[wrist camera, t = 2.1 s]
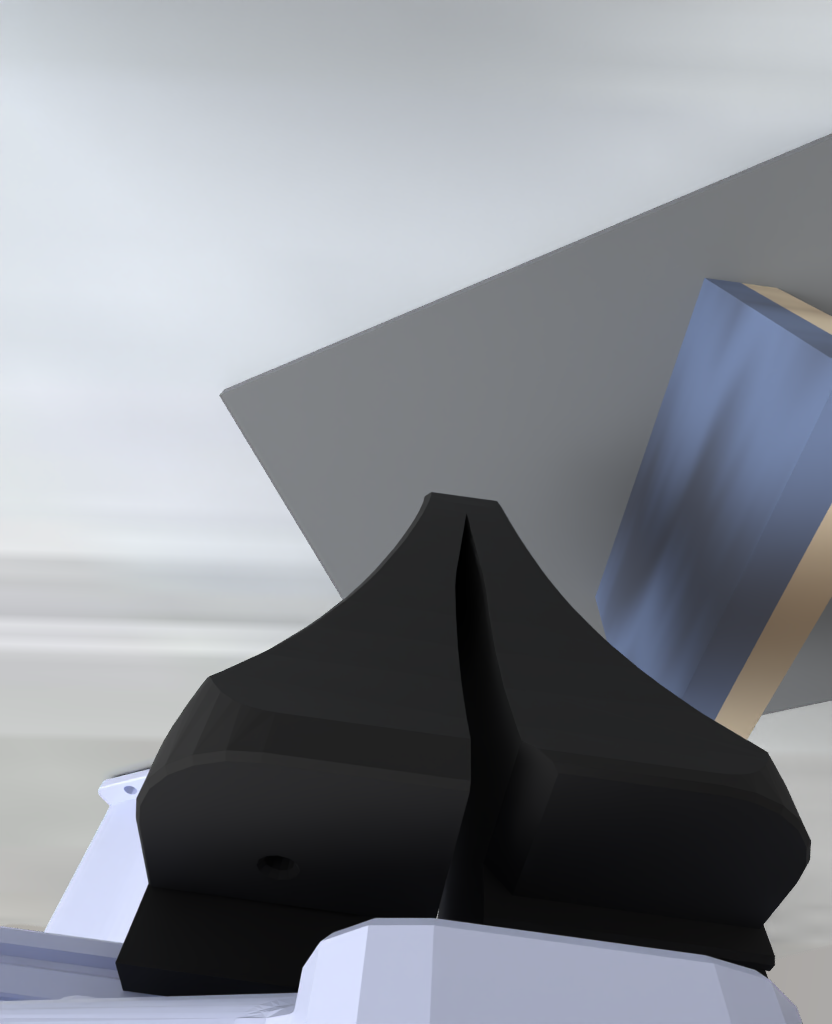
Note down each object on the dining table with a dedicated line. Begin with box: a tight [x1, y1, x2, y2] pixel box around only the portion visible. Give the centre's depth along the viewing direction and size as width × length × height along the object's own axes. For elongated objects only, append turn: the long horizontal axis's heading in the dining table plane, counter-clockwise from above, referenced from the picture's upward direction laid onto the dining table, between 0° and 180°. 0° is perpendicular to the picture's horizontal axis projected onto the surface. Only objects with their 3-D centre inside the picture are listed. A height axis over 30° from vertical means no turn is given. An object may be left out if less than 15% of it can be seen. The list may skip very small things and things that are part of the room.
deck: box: [595, 278, 832, 740], centre depth 14 cm, size 9×2×6 cm, turn 173°
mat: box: [219, 134, 832, 715], centre depth 17 cm, size 20×16×1 cm
